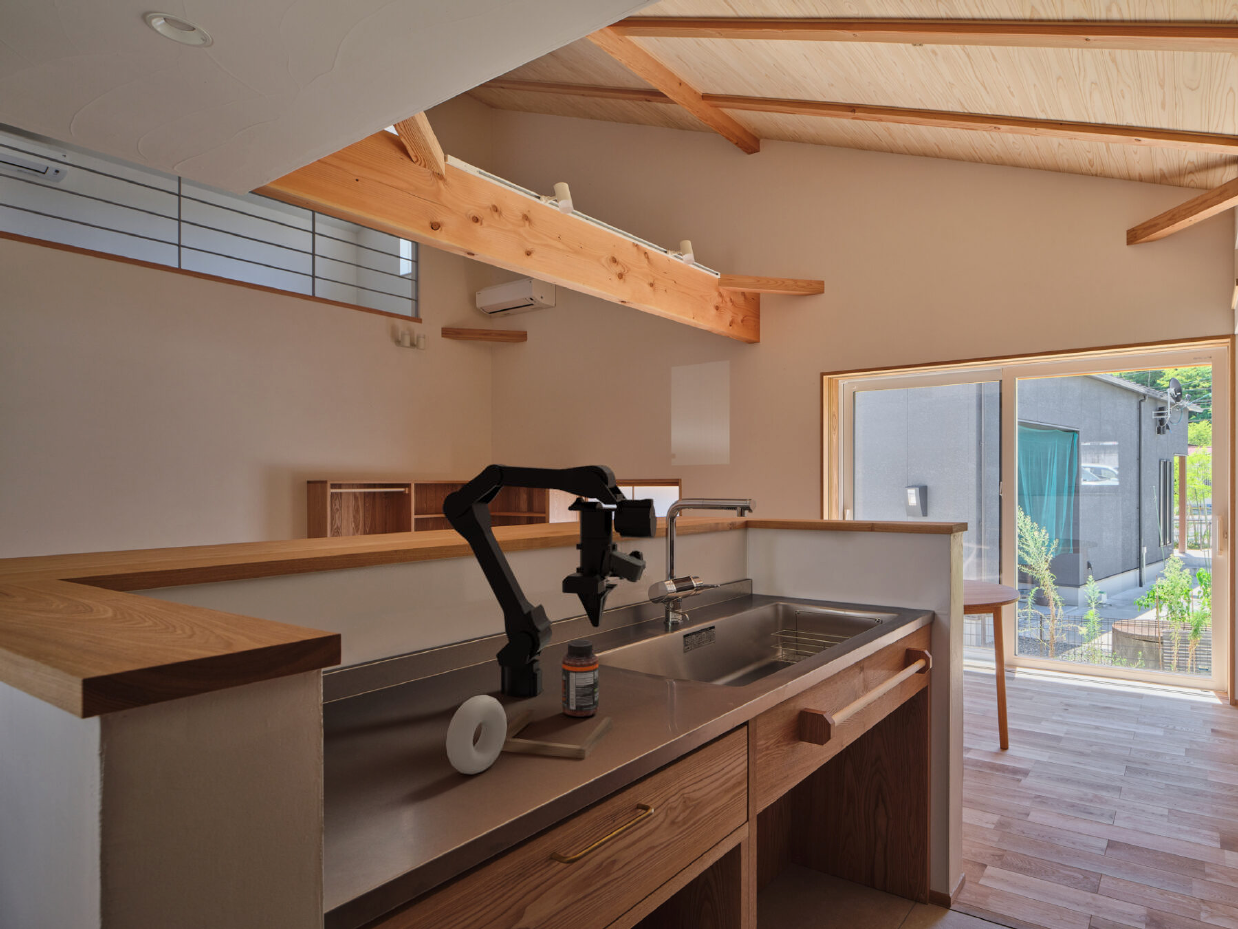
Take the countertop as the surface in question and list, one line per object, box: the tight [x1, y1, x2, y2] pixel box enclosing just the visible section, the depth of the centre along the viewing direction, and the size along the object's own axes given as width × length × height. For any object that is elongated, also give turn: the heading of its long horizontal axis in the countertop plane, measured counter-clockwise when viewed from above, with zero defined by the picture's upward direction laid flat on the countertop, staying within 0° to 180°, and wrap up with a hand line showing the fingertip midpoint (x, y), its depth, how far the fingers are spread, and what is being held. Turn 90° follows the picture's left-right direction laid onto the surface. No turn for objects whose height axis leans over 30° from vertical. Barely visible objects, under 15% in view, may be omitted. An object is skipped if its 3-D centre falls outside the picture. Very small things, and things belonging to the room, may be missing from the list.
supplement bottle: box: [561, 639, 600, 717], centre depth 121 cm, size 6×6×11 cm
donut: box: [445, 694, 508, 776], centre depth 97 cm, size 10×4×10 cm, turn 148°
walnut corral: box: [500, 708, 613, 759], centre depth 109 cm, size 14×13×2 cm
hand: (596, 626), depth 129 cm, fingers closed
